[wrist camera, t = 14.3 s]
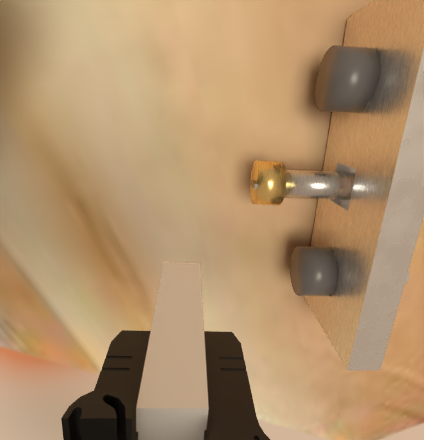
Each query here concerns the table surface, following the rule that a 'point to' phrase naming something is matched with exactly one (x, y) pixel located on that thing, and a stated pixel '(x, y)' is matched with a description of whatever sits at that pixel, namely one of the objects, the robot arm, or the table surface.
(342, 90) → the knob near
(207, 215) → the table surface
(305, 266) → the knob far
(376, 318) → the panel
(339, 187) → the silver and brass cylinder
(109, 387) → the robot arm
